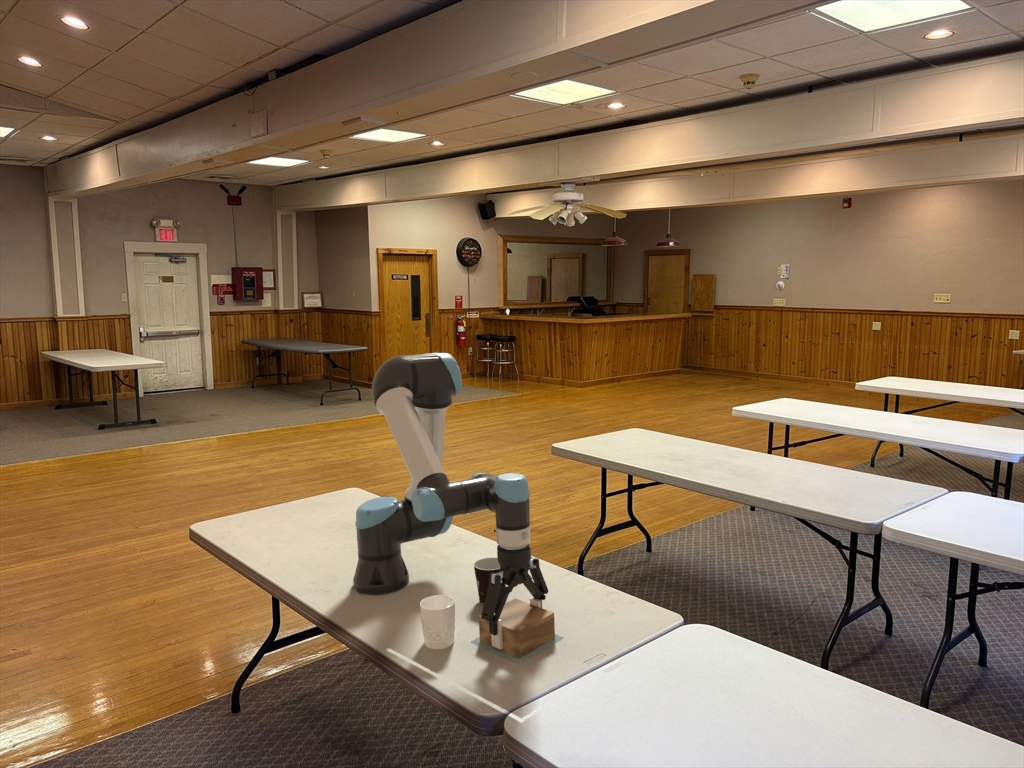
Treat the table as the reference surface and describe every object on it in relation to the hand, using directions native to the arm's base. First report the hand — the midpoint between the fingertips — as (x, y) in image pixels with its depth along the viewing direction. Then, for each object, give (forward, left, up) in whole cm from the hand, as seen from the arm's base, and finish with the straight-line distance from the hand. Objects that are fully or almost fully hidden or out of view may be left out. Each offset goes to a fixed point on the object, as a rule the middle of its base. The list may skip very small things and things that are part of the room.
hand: (517, 636), depth 158 cm
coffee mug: (-21, +13, -2) cm, 25 cm away
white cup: (-13, -12, -2) cm, 18 cm away
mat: (0, 0, -1) cm, 1 cm away
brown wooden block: (0, 0, -1) cm, 1 cm away
